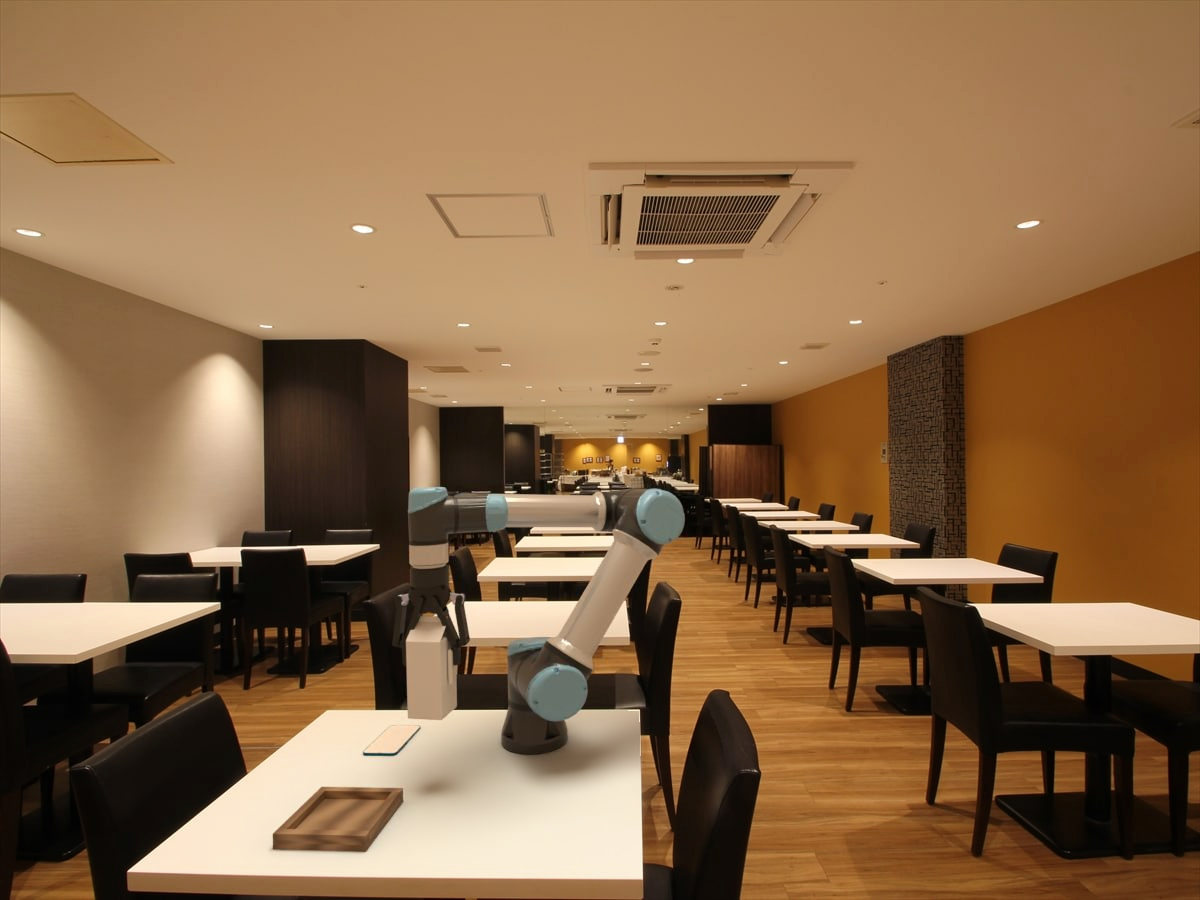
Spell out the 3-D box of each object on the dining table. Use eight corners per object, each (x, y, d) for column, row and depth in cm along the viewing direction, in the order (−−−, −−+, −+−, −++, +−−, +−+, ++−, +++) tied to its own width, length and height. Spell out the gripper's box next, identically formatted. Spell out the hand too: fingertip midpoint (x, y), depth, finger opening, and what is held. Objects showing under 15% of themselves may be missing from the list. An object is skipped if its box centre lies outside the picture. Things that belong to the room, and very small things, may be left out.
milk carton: (441, 721, 124) (439, 620, 124) (407, 719, 125) (405, 620, 126) (457, 707, 131) (454, 612, 131) (424, 705, 132) (422, 611, 133)
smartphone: (390, 728, 159) (361, 757, 143) (390, 725, 159) (361, 753, 143) (422, 729, 159) (396, 757, 143) (422, 725, 159) (396, 753, 143)
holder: (403, 801, 123) (402, 788, 123) (365, 851, 107) (365, 835, 107) (321, 799, 124) (321, 786, 124) (272, 849, 108) (272, 833, 108)
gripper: (484, 561, 132) (487, 675, 131) (387, 563, 133) (389, 675, 133) (474, 567, 124) (477, 688, 124) (371, 569, 126) (373, 688, 125)
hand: (432, 681), depth 128 cm, fingers closed on milk carton, 7 cm apart
